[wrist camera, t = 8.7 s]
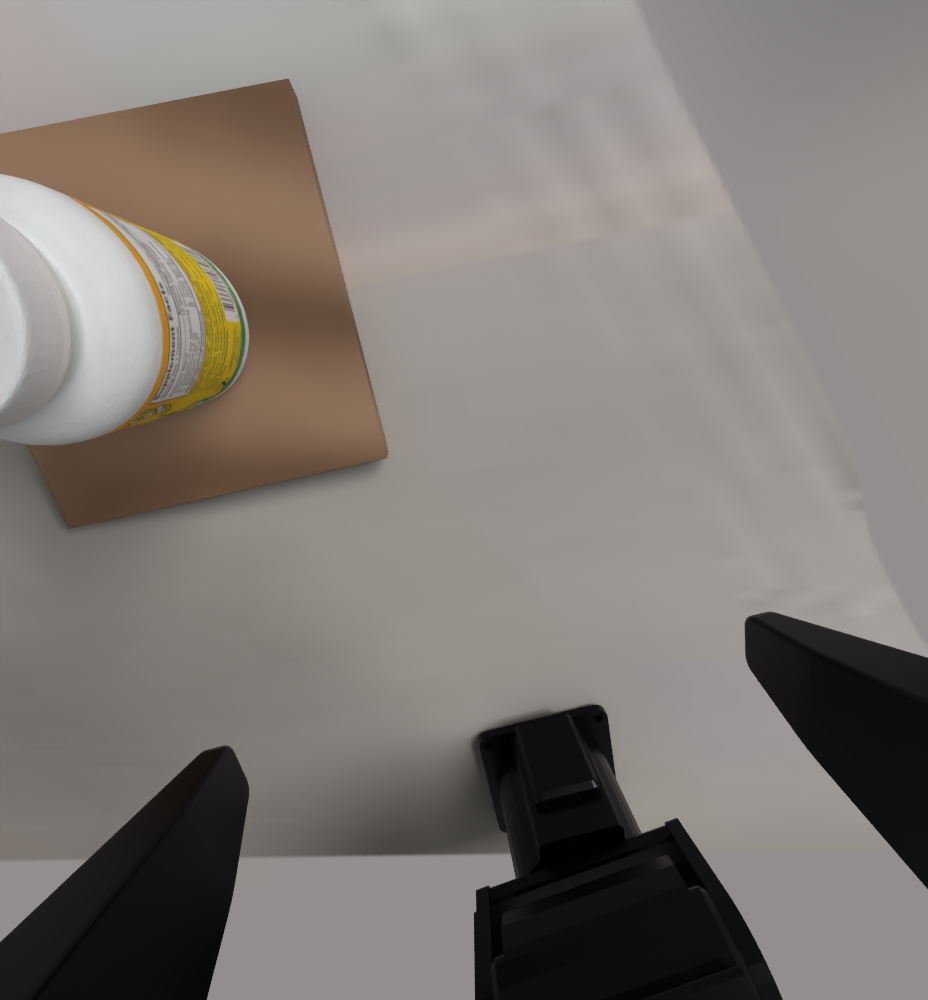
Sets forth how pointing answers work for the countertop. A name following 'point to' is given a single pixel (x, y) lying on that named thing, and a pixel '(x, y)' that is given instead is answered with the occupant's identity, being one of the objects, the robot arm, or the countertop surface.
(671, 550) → the countertop surface
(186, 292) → the supplement bottle
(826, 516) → the countertop surface
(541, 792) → the robot arm
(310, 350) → the walnut board
